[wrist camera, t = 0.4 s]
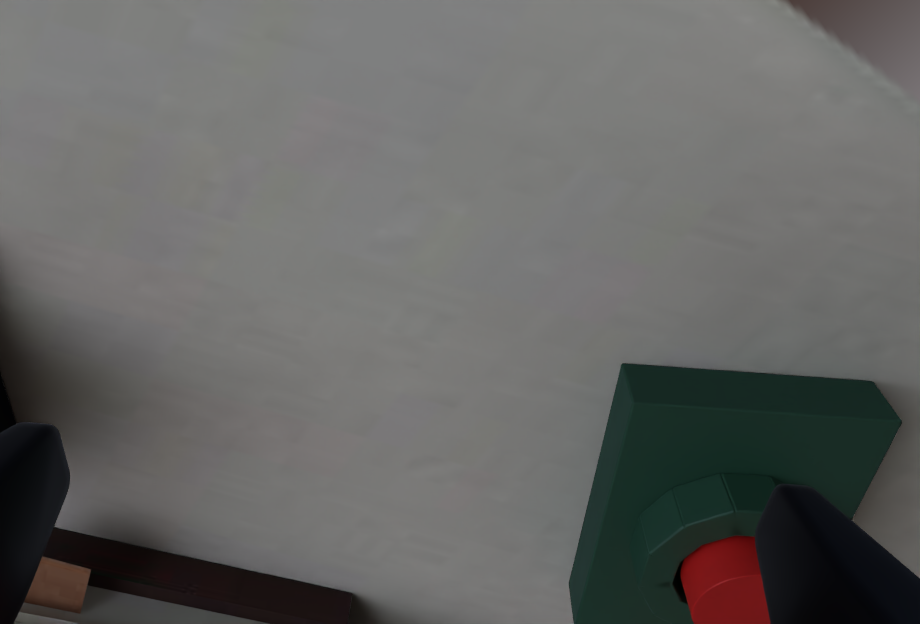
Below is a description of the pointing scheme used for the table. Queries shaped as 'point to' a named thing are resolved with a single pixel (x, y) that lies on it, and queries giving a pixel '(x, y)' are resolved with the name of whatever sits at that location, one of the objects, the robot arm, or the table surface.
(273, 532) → the table surface
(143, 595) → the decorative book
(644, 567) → the control block
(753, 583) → the red push button
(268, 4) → the table surface
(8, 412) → the tap bracket
